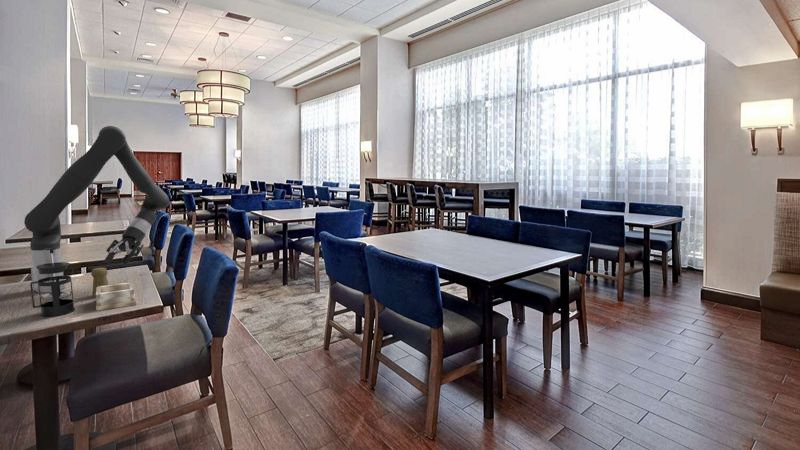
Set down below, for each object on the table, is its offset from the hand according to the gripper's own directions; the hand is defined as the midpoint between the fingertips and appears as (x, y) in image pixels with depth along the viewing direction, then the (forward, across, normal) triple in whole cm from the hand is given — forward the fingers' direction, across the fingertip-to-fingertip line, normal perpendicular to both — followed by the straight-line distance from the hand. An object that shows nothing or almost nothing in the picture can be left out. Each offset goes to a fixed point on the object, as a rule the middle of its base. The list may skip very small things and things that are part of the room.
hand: (114, 263), depth 171 cm
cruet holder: (+16, +13, 0) cm, 21 cm away
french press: (+27, +3, -10) cm, 29 cm away
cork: (+13, 0, +3) cm, 14 cm away
